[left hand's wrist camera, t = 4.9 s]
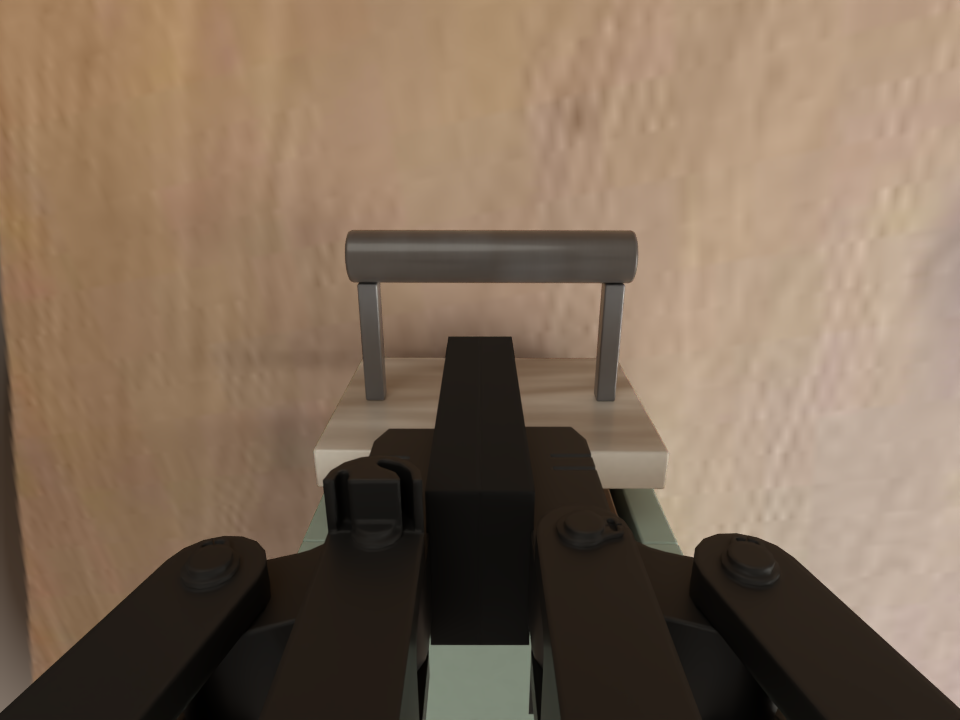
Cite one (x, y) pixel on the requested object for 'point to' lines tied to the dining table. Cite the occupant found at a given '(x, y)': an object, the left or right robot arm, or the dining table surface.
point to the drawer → (542, 381)
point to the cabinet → (506, 668)
